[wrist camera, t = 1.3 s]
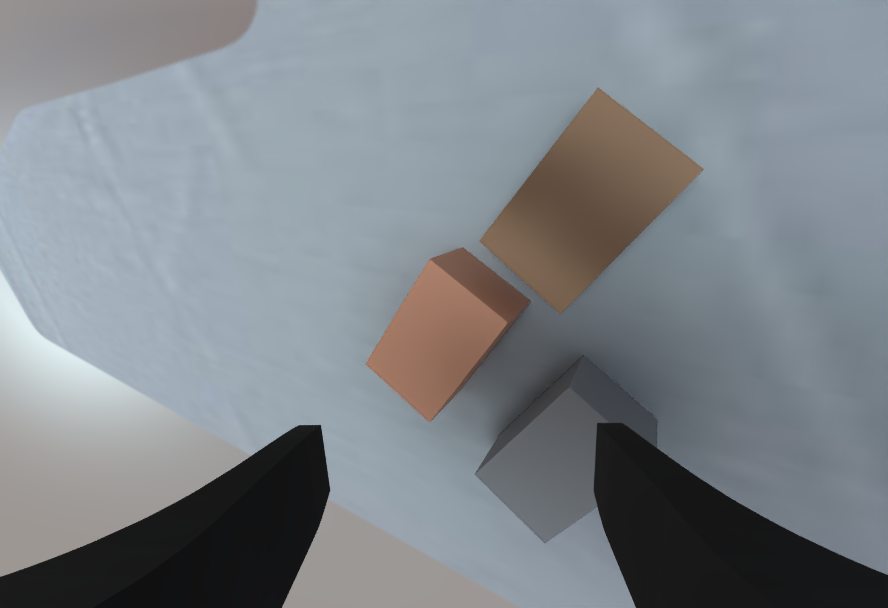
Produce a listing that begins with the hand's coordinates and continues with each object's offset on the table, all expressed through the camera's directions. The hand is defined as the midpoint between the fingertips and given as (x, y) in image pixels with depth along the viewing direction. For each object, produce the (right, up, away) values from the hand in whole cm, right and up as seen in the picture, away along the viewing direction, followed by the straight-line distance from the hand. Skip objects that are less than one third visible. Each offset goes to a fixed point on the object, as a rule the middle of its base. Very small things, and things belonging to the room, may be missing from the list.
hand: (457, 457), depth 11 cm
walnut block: (+6, +9, +8) cm, 14 cm away
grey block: (+6, -2, +12) cm, 13 cm away
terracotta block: (+1, +3, +13) cm, 13 cm away
